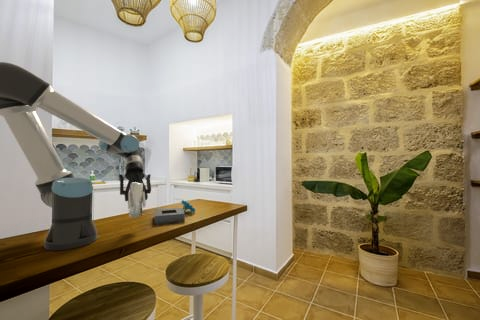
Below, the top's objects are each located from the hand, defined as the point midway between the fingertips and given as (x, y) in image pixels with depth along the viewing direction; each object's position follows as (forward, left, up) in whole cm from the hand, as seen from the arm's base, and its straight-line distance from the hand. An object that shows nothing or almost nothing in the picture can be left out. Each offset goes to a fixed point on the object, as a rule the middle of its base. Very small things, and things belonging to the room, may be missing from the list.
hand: (137, 206), depth 86 cm
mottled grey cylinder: (-1, +4, -5) cm, 6 cm away
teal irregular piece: (+25, +28, -12) cm, 40 cm away
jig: (+14, +16, -11) cm, 24 cm away
